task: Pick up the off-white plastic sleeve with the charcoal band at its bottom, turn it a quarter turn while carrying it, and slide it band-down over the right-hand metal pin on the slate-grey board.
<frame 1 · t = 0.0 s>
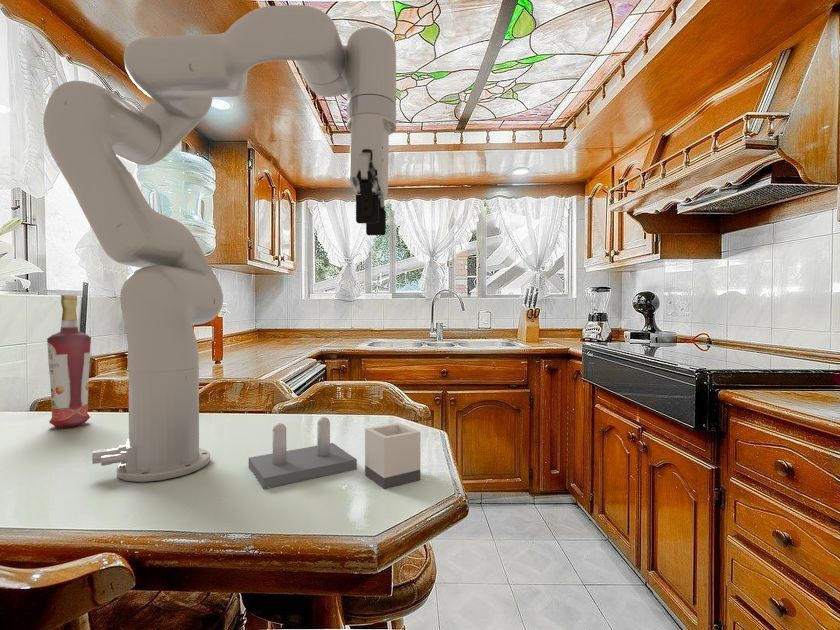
hand: (371, 229, 67), 37 cm above the table, tool pointing down, fingers open, 9 cm apart
liquor: (70, 426, 93), on the table
sleeve: (392, 477, 64), on the table
pin board: (302, 468, 68), on the table
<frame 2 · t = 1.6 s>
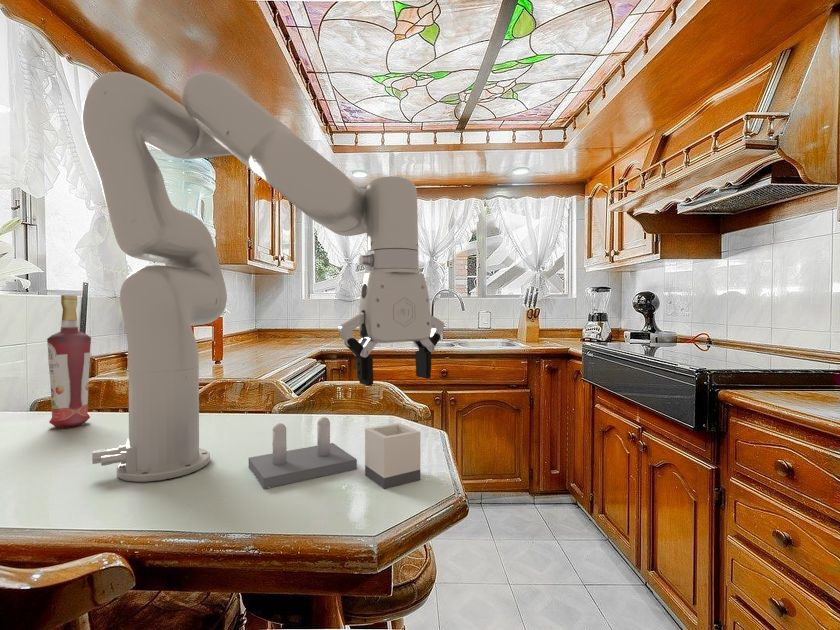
hand: (395, 380, 64), 14 cm above the table, tool pointing down, fingers open, 9 cm apart
nothing on the table moved.
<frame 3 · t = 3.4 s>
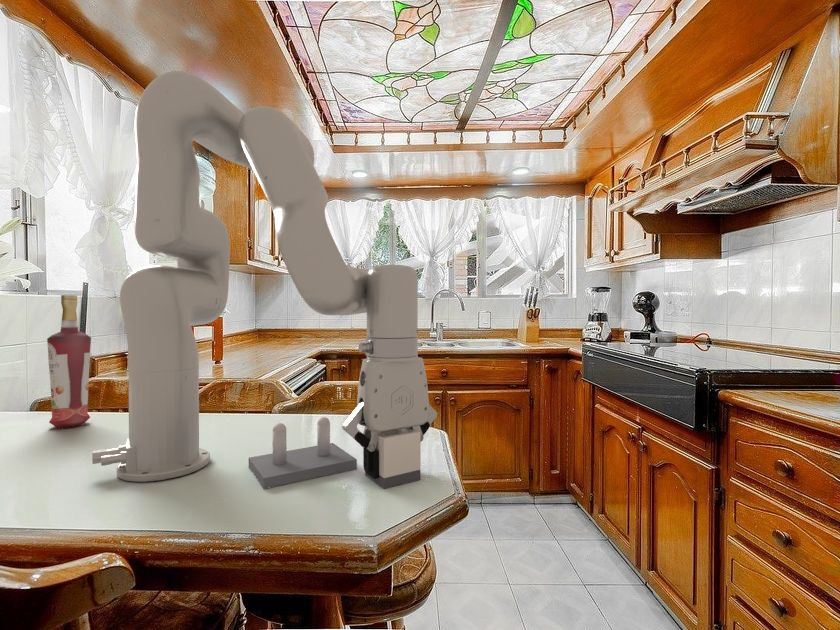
hand: (392, 469, 64), 1 cm above the table, tool pointing down, fingers closed on sleeve, 6 cm apart
sleeve: (392, 477, 64), on the table, touching gripper
everything else where it was.
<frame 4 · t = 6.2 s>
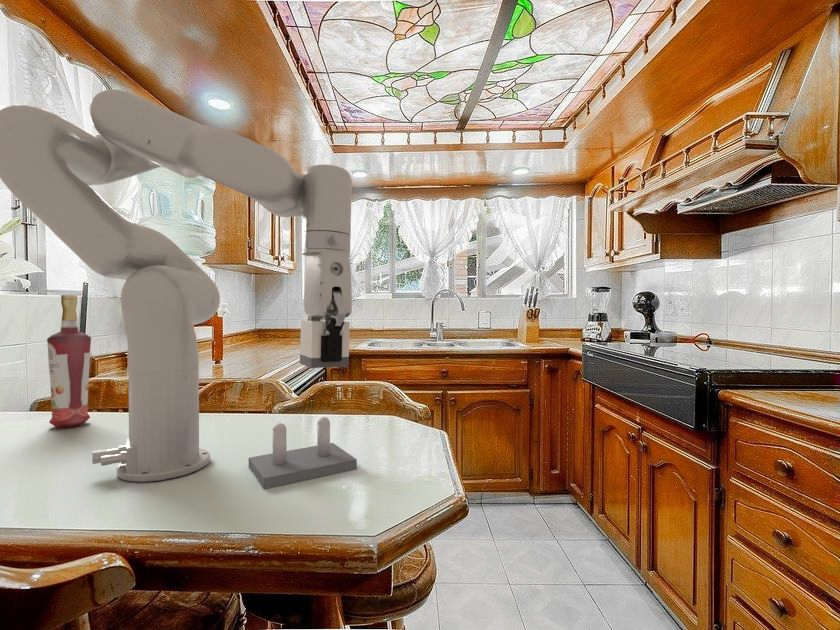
hand: (323, 358, 69), 17 cm above the table, tool pointing down, fingers closed on sleeve, 6 cm apart
sleeve: (323, 364, 69), point 16 cm above the table, touching gripper
everything else where it was.
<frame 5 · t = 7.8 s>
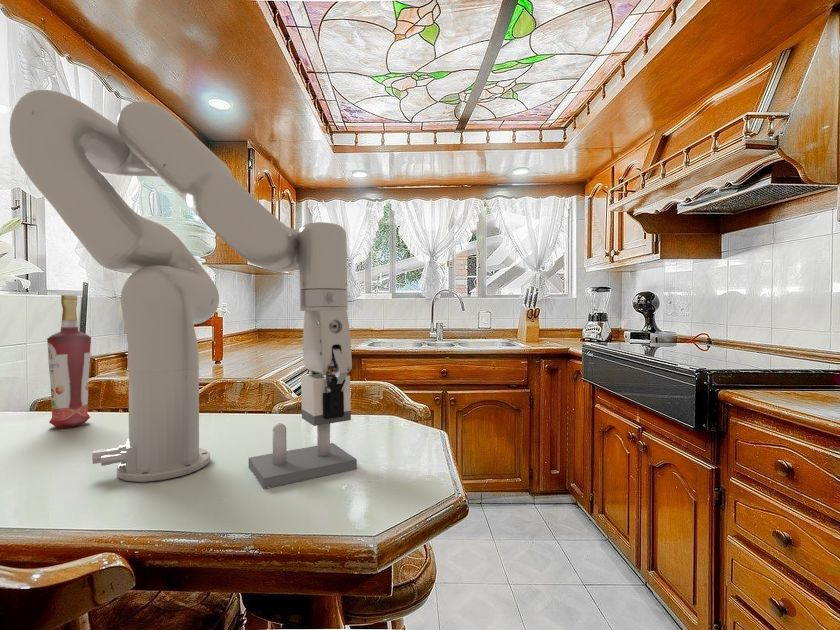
hand: (325, 412, 70), 8 cm above the table, tool pointing down, fingers closed on sleeve, 6 cm apart
sleeve: (326, 419, 70), point 7 cm above the table, touching gripper
everything else where it was.
when the fingers open (4 cm above the table, at t = 9.2 s): sleeve stays where it is, resting on pin board.
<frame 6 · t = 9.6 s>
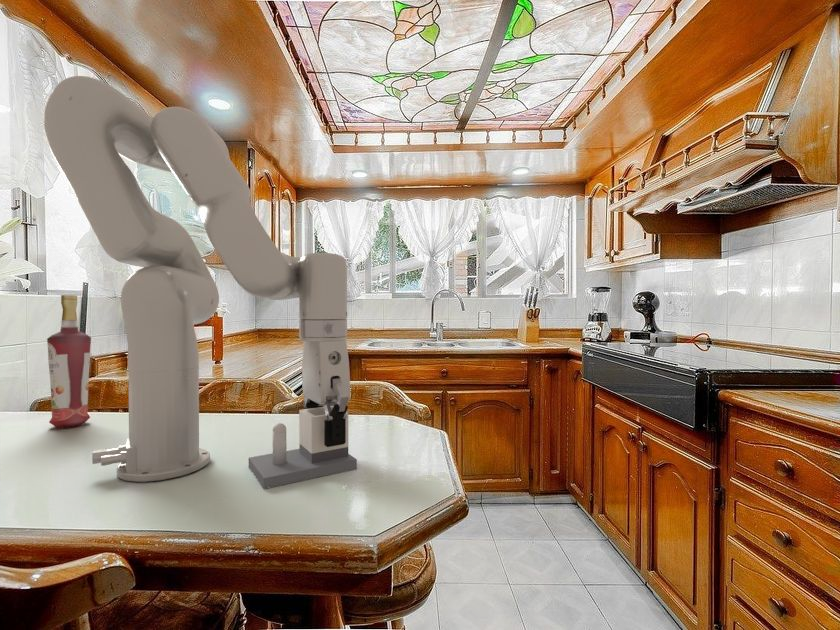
hand: (323, 437, 70), 4 cm above the table, tool pointing down, fingers open, 9 cm apart
sleeve: (323, 454, 70), point 1 cm above the table, touching pin board
everything else where it was.
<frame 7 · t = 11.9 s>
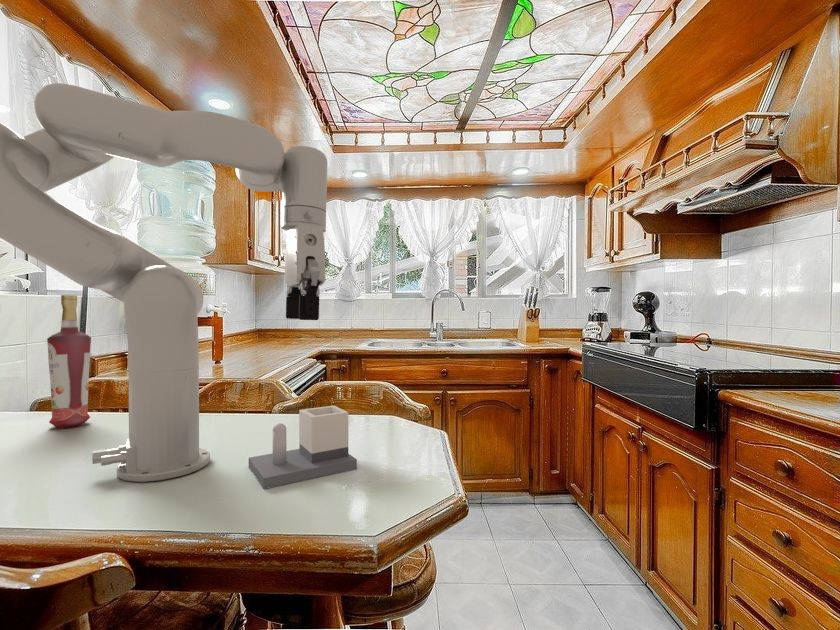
hand: (301, 319, 75), 23 cm above the table, tool pointing down, fingers open, 9 cm apart
nothing on the table moved.
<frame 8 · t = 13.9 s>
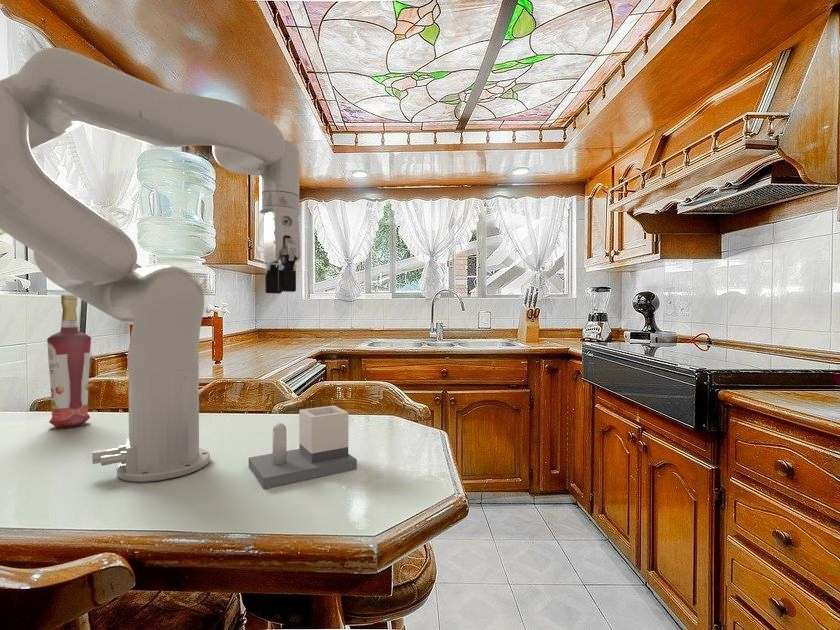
hand: (280, 292, 85), 28 cm above the table, tool pointing down, fingers open, 9 cm apart
nothing on the table moved.
at the end: sleeve 0.0 cm from the target spot on the pin board, point 1.5 cm above the pin board's base; sleeve tilted 0°; the gripper is holding nothing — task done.
